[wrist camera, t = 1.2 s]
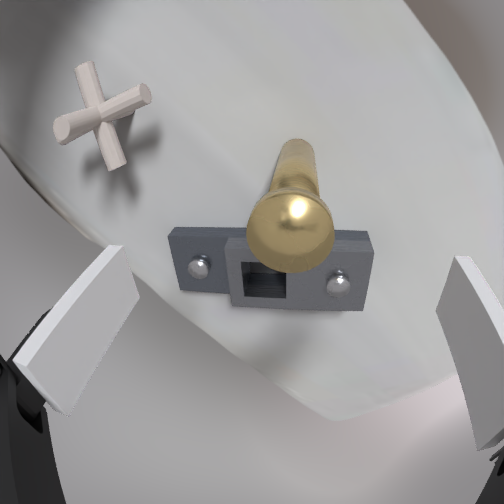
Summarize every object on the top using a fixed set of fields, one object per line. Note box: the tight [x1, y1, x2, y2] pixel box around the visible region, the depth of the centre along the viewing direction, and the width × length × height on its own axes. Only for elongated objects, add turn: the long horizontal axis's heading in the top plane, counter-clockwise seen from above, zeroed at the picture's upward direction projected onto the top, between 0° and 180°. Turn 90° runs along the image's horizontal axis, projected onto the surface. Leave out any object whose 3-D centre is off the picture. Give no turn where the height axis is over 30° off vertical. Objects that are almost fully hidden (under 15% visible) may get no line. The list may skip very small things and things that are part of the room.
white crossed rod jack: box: [53, 61, 152, 171], centre depth 22 cm, size 10×10×10 cm
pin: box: [246, 139, 335, 273], centre depth 20 cm, size 4×4×15 cm
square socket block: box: [168, 227, 374, 311], centre depth 31 cm, size 7×20×5 cm, turn 94°
